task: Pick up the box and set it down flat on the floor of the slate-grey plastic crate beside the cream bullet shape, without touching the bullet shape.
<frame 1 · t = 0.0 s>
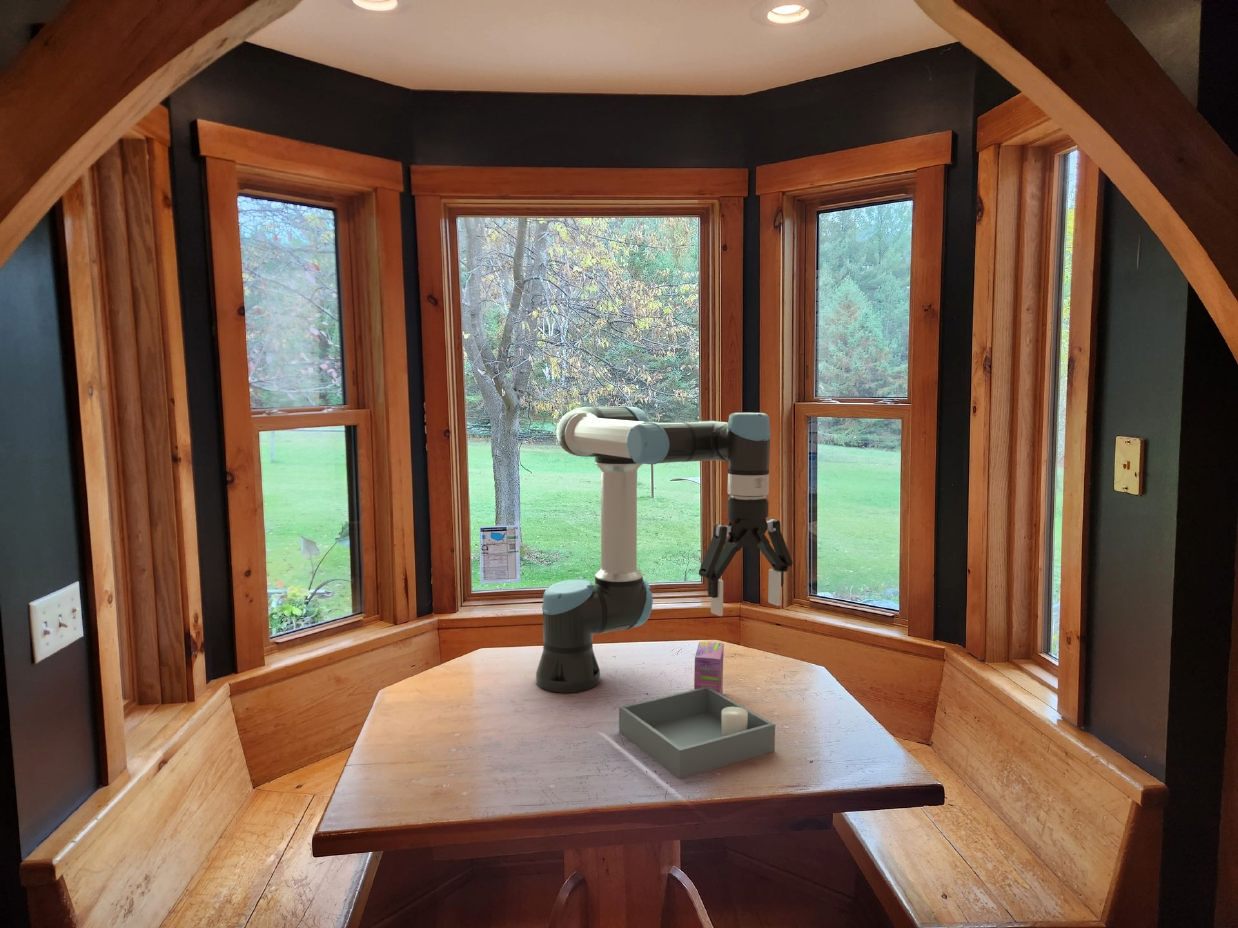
hand: (746, 609, 146), 28 cm above the table, fingers open, 13 cm apart
box: (708, 702, 173), on the table
crate: (694, 744, 151), on the table
cream bullet shape: (734, 741, 151), point 1 cm above the table, touching crate
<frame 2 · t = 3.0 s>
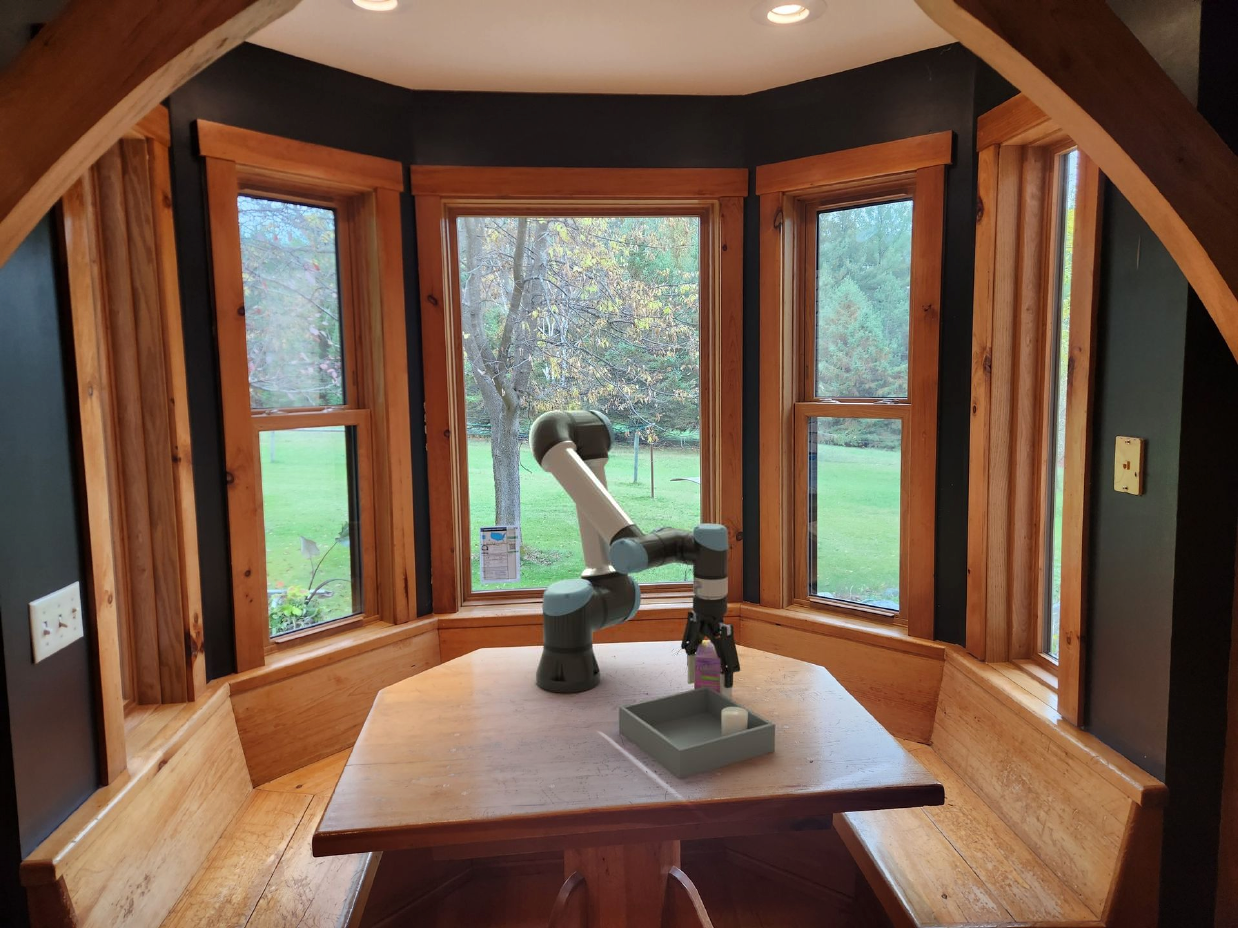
hand: (709, 691, 172), 2 cm above the table, fingers closed on box, 11 cm apart
box: (708, 702, 173), on the table, touching gripper
everything else where it was.
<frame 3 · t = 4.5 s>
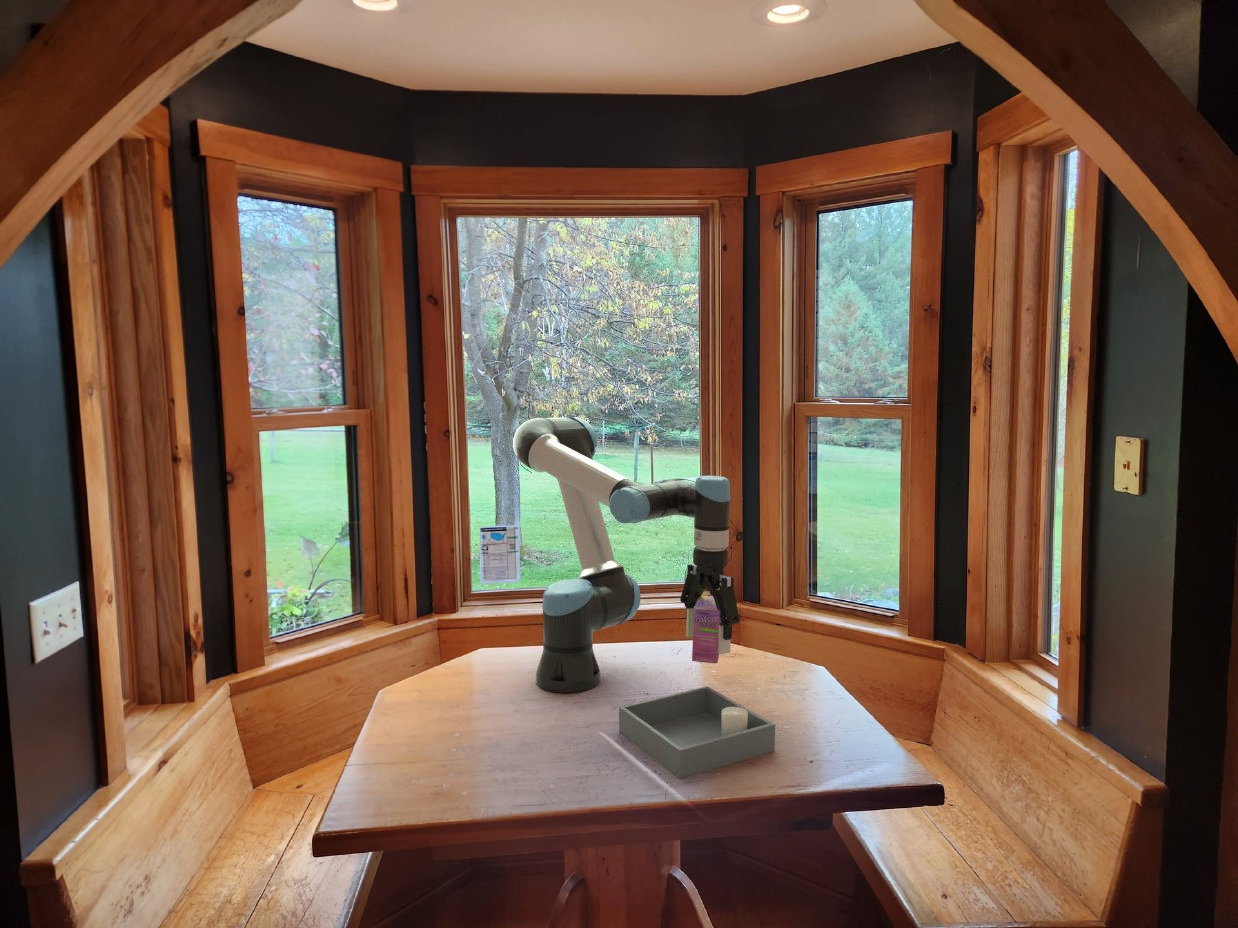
hand: (707, 644, 172), 13 cm above the table, fingers closed on box, 11 cm apart
box: (707, 655, 172), point 10 cm above the table, touching gripper
everything else where it was.
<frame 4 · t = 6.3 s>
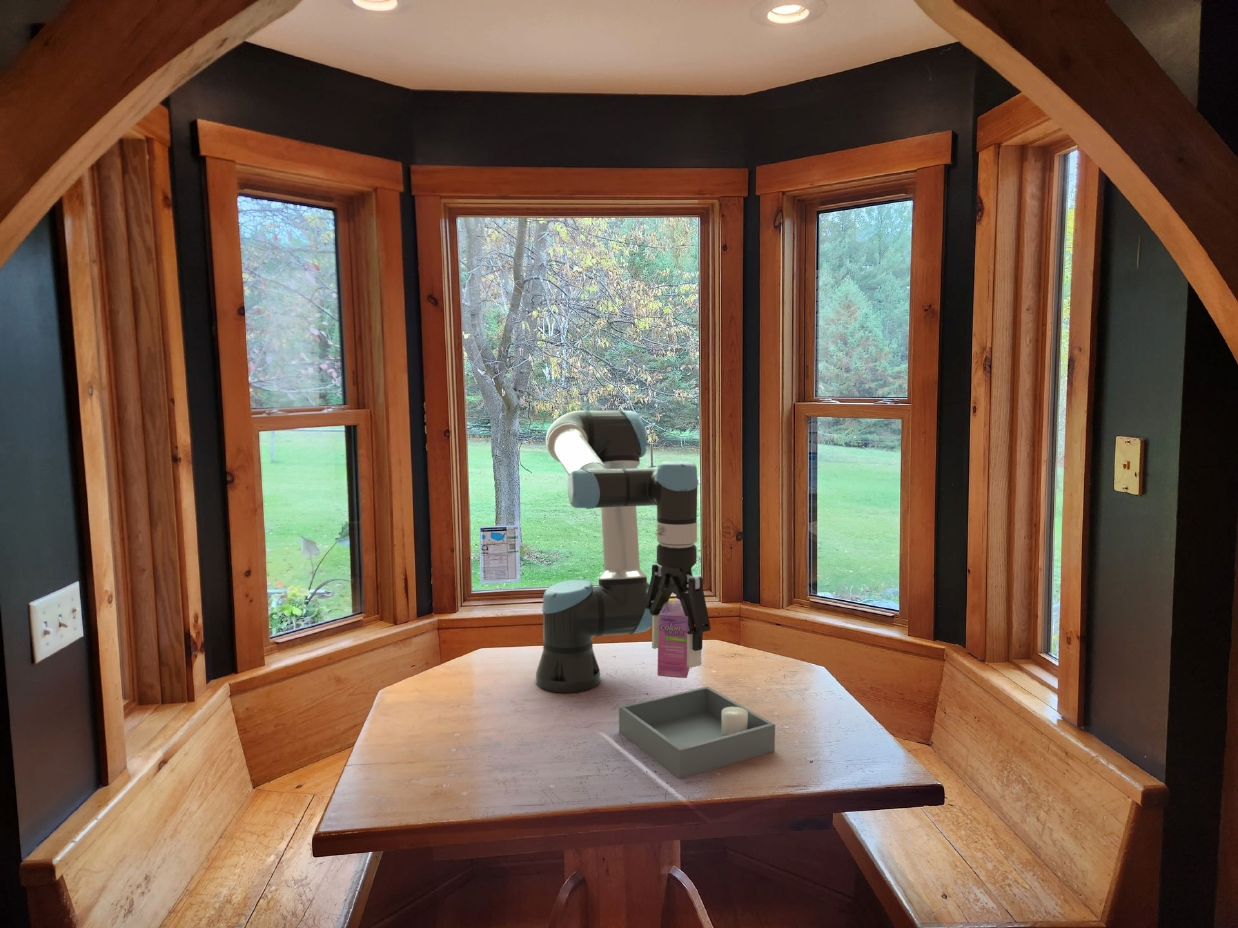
hand: (675, 656, 149), 18 cm above the table, fingers closed on box, 11 cm apart
box: (675, 668, 149), point 16 cm above the table, touching gripper
everything else where it was.
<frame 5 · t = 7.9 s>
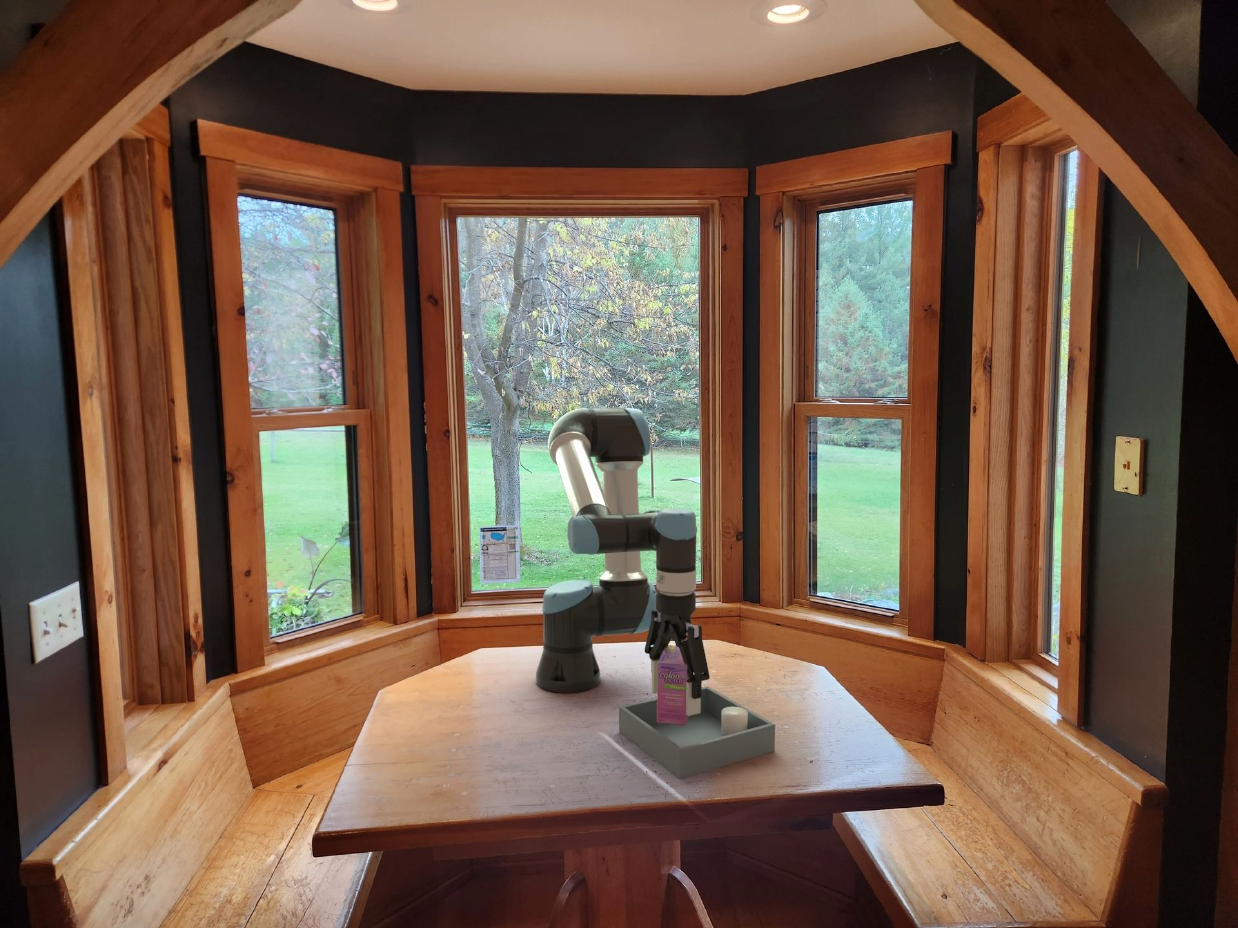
hand: (675, 702, 149), 9 cm above the table, fingers closed on box, 11 cm apart
box: (675, 714, 150), point 7 cm above the table, touching gripper
everything else where it was.
when the fingers open (5 cm above the table, at t = 9.4 s): box drops 2 cm, resting on crate.
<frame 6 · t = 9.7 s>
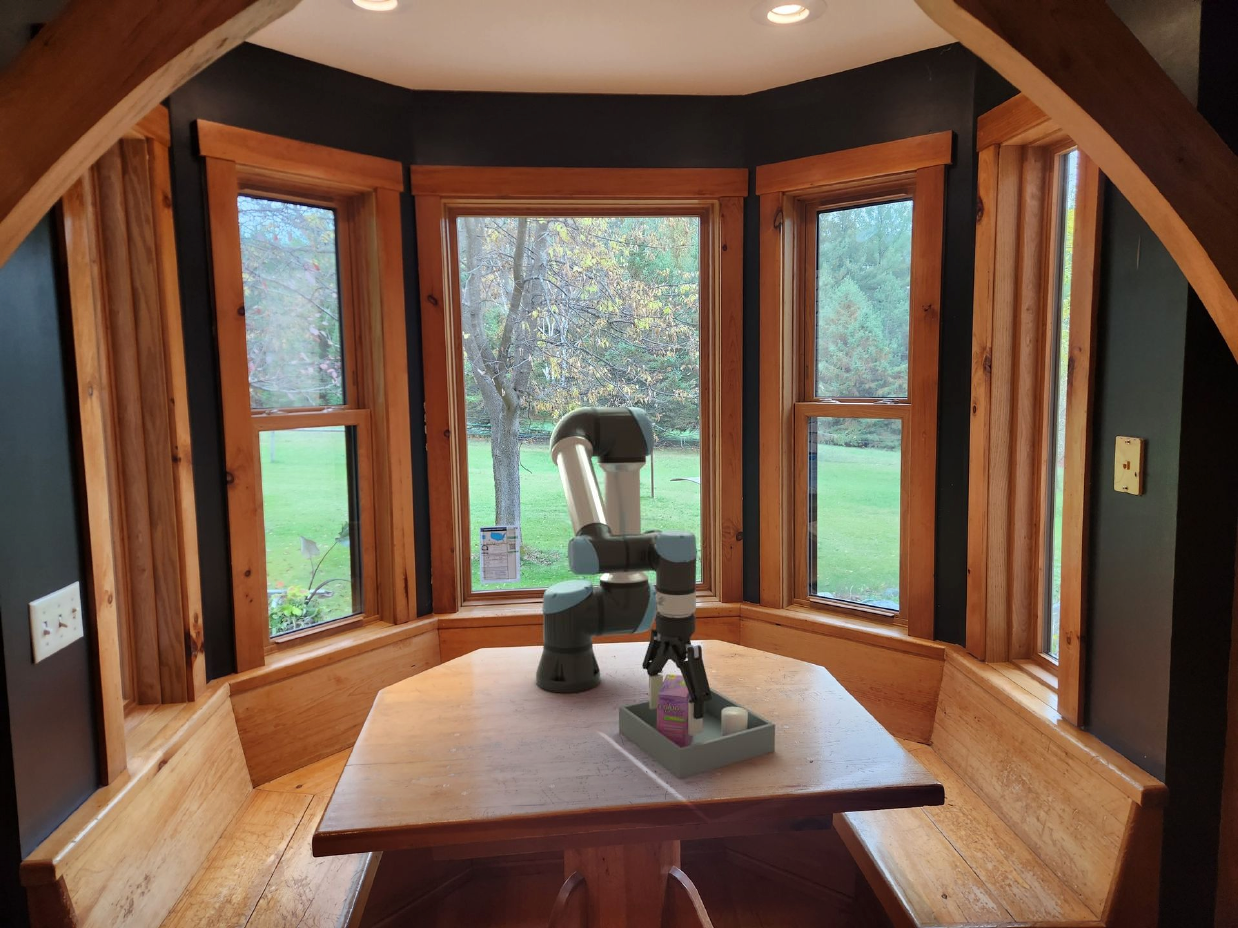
hand: (674, 720, 150), 6 cm above the table, fingers open, 13 cm apart
box: (675, 744, 150), point 1 cm above the table, touching crate
everything else where it was.
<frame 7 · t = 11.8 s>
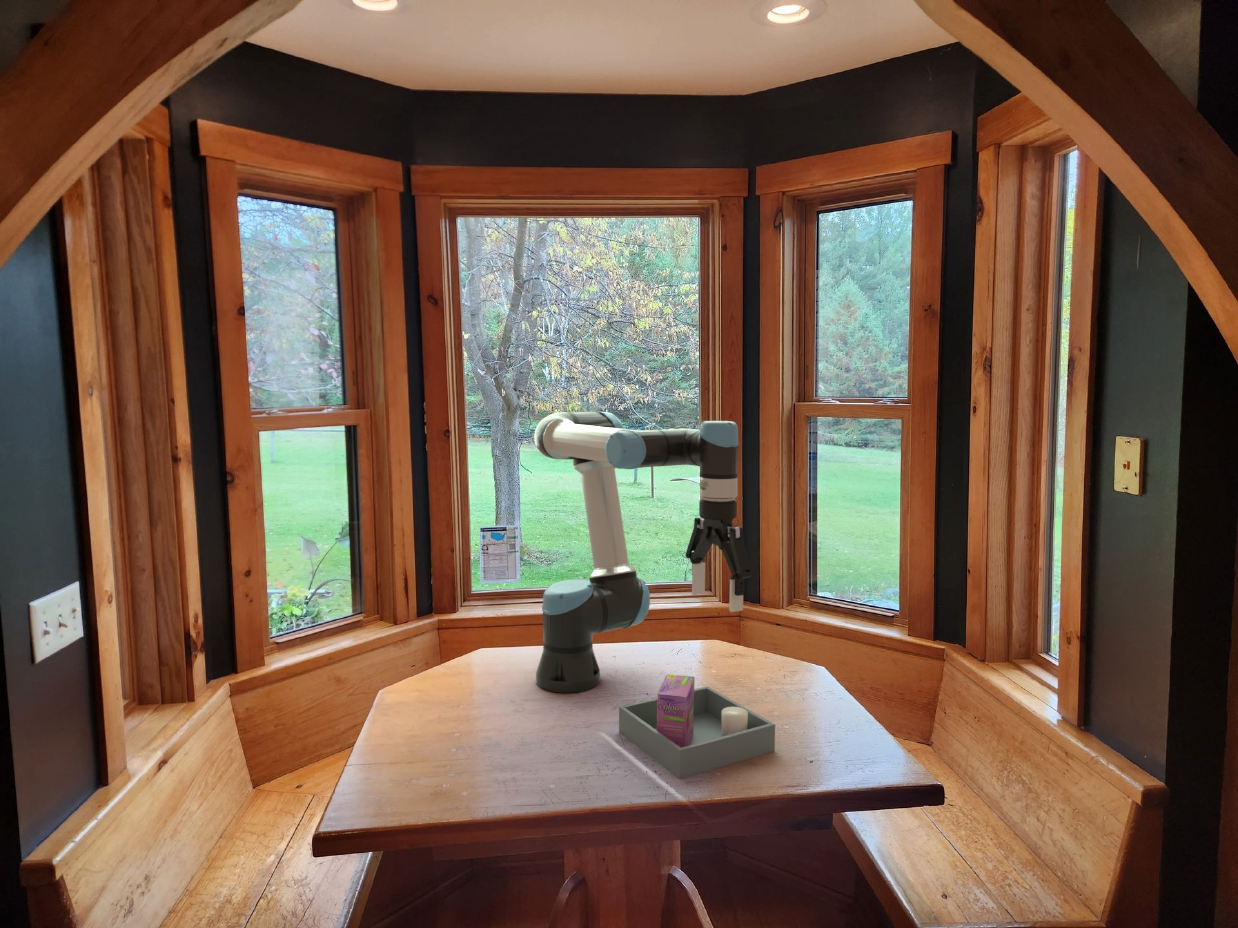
hand: (716, 602, 158), 26 cm above the table, fingers open, 13 cm apart
nothing on the table moved.
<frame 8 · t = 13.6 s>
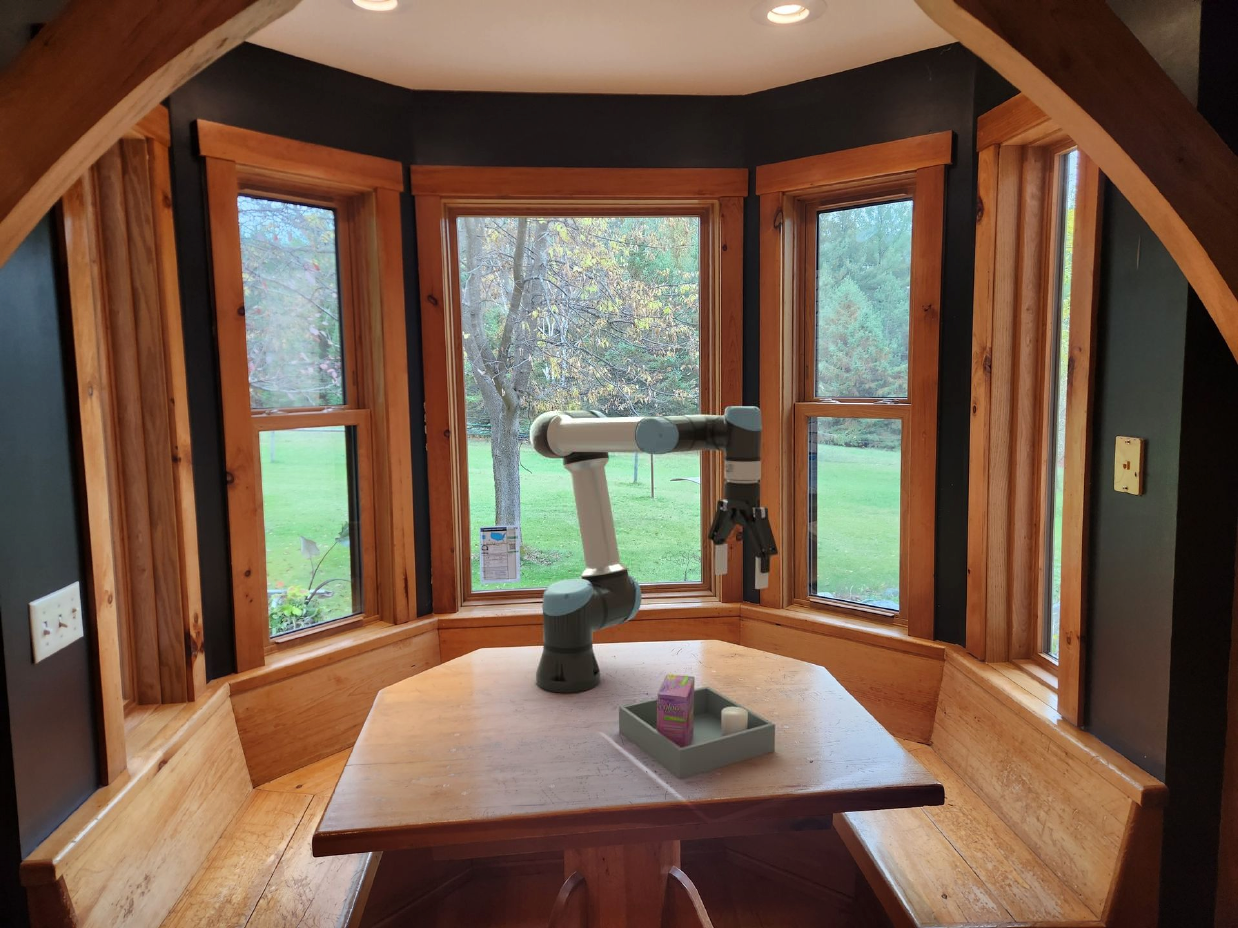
hand: (740, 580, 164), 29 cm above the table, fingers open, 13 cm apart
nothing on the table moved.
at the end: box inside the target area on the crate (0.9 cm from its centre), point 0.6 cm above the crate's base; box tilted 0°; cream bullet shape moved 0.1 cm from its start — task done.
